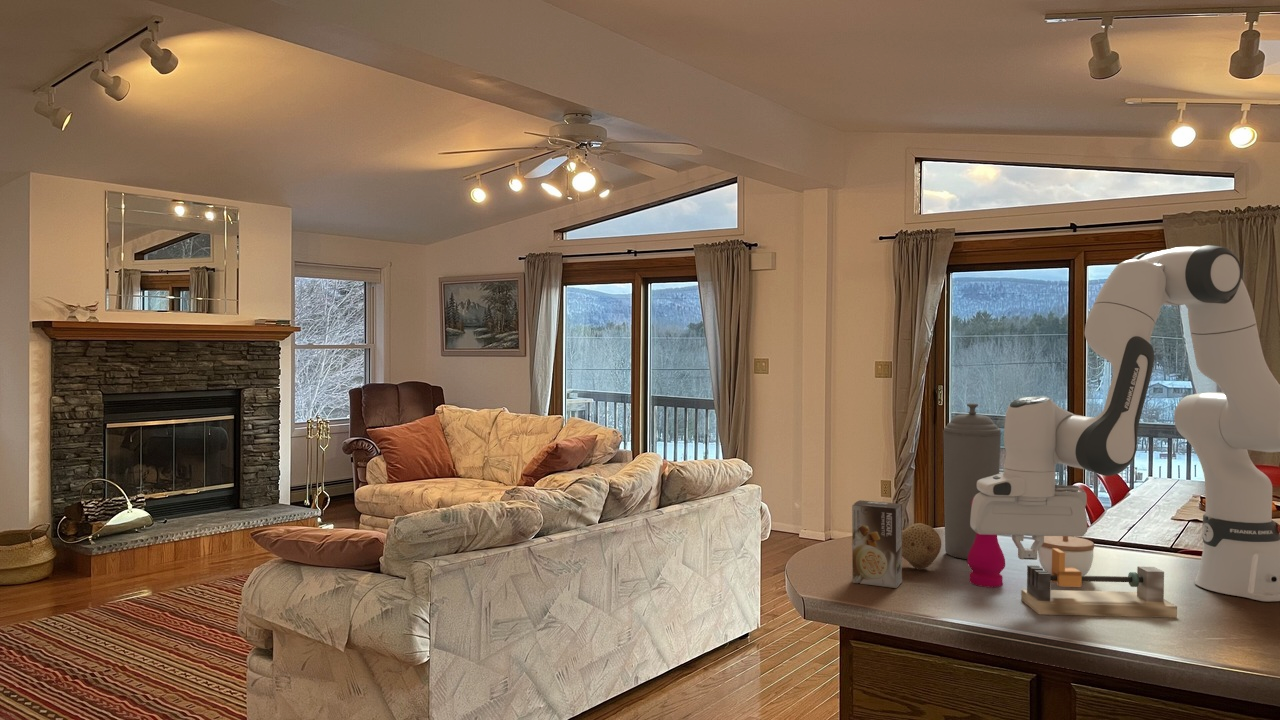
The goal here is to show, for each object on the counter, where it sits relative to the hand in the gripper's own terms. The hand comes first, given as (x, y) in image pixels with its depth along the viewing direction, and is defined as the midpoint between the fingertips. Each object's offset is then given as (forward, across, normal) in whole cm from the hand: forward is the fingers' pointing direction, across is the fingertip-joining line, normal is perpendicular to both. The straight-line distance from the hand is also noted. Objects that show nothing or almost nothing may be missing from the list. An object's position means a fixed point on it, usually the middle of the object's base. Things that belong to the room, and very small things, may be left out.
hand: (1027, 558), depth 166 cm
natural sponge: (+9, +13, -26) cm, 31 cm away
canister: (+9, -2, -40) cm, 41 cm away
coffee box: (+9, +24, -15) cm, 30 cm away
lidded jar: (+9, -16, -22) cm, 28 cm away
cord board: (+9, -13, 0) cm, 15 cm away
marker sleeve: (+5, -7, 0) cm, 8 cm away
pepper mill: (+9, +2, -16) cm, 19 cm away
